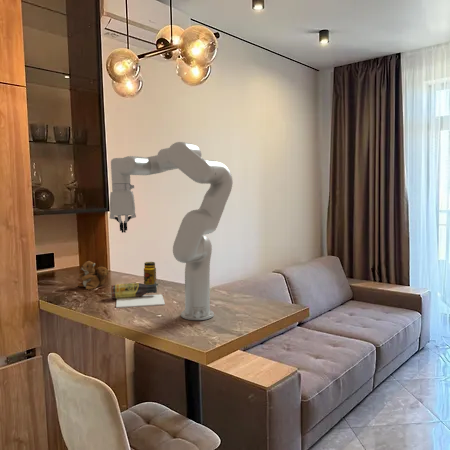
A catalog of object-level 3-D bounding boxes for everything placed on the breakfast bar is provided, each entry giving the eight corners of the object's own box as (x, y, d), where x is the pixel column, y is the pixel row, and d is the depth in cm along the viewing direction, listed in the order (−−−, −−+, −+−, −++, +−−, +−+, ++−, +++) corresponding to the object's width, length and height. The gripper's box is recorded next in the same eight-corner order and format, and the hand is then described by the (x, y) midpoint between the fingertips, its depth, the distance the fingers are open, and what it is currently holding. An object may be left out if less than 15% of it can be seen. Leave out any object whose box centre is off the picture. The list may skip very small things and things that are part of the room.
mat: (164, 304, 179) (164, 303, 179) (116, 307, 174) (116, 306, 174) (162, 295, 194) (161, 294, 194) (117, 297, 190) (117, 296, 190)
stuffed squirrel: (76, 286, 211) (75, 260, 210) (103, 282, 220) (102, 257, 219) (83, 290, 204) (82, 263, 202) (111, 286, 212) (110, 260, 211)
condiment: (142, 287, 209) (141, 263, 208) (144, 283, 218) (144, 260, 217) (157, 287, 210) (156, 263, 209) (159, 283, 218) (158, 260, 217)
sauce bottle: (110, 282, 189) (155, 277, 193) (111, 293, 192) (155, 288, 196) (110, 290, 183) (157, 286, 188) (112, 302, 186) (157, 297, 191)
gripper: (139, 187, 180) (141, 230, 181) (103, 188, 177) (105, 232, 178) (140, 187, 173) (142, 232, 174) (102, 188, 169) (104, 234, 171)
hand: (123, 232), depth 176 cm, fingers closed
